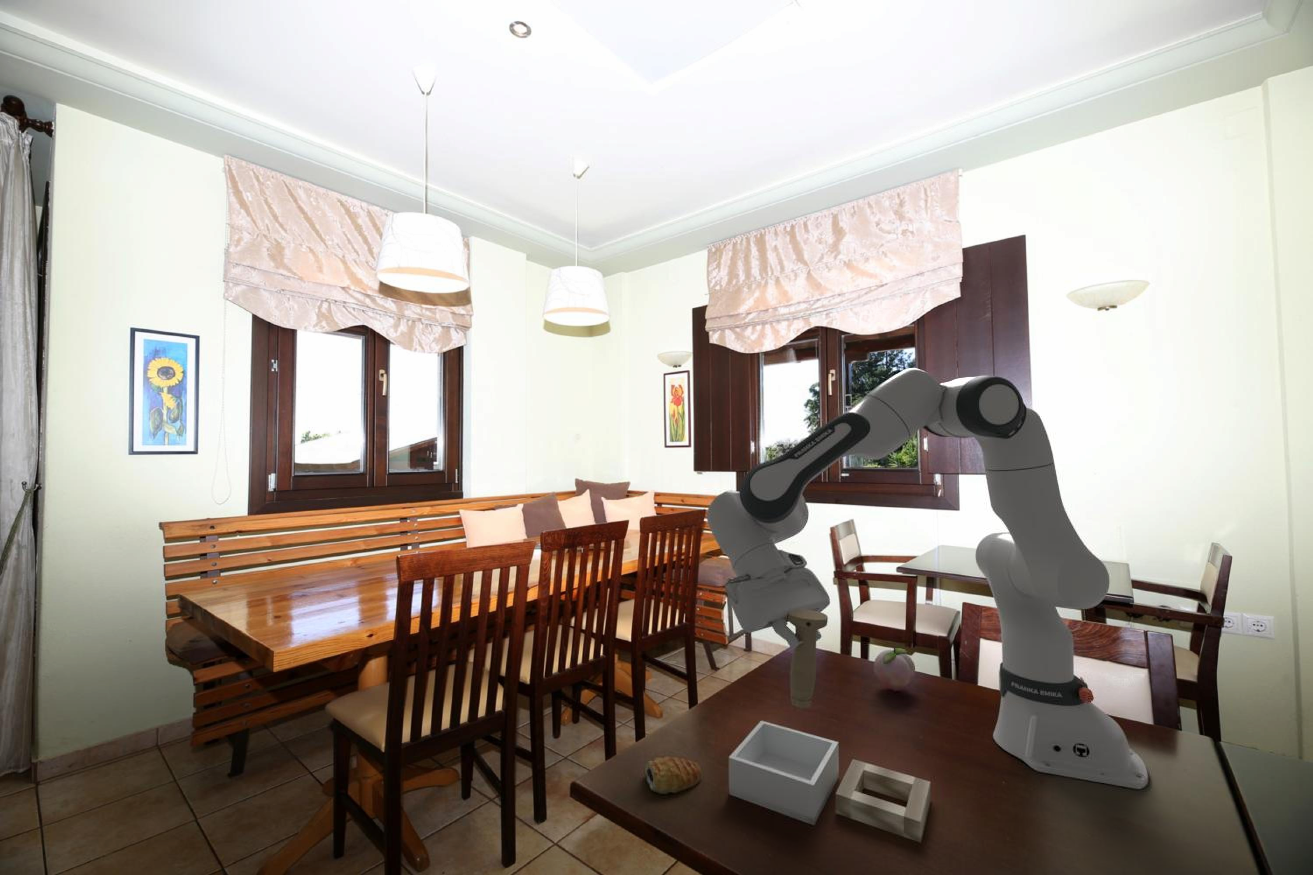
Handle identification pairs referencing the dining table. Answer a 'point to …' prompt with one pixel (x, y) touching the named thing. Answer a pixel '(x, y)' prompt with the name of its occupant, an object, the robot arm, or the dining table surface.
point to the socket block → (880, 811)
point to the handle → (804, 655)
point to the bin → (785, 771)
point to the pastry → (672, 774)
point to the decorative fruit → (894, 668)
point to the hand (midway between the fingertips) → (807, 643)
